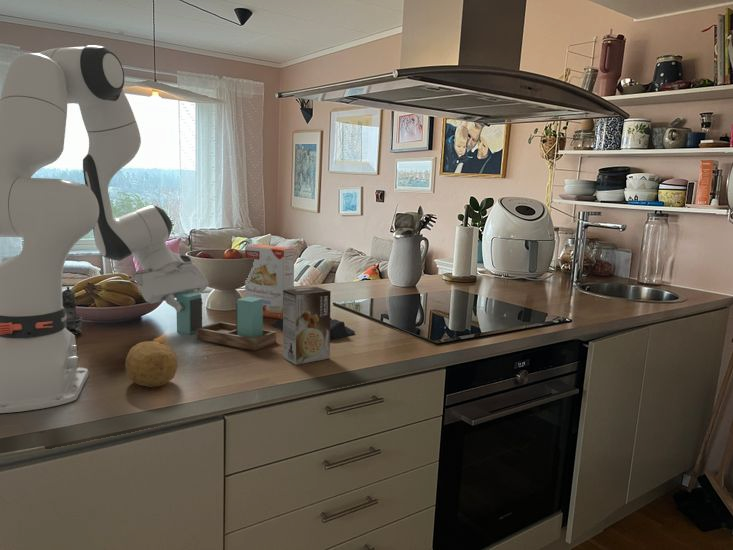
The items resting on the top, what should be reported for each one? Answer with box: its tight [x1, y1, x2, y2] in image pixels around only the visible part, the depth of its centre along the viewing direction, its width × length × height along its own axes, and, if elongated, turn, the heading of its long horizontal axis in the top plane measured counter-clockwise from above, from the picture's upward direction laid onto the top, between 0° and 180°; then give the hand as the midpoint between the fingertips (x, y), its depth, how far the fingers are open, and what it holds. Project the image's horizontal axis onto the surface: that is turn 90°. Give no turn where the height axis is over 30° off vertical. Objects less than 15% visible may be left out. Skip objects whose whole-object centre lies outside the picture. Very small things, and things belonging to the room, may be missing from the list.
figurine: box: [62, 286, 83, 335], centre depth 140 cm, size 6×6×12 cm
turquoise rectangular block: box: [235, 296, 264, 338], centre depth 137 cm, size 5×4×10 cm
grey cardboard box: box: [282, 286, 332, 366], centre depth 126 cm, size 9×6×16 cm
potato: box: [124, 340, 178, 388], centre depth 108 cm, size 10×14×8 cm
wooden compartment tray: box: [196, 321, 277, 352], centre depth 139 cm, size 18×9×3 cm, turn 64°
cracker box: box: [244, 243, 295, 320], centre depth 165 cm, size 14×6×21 cm, turn 64°
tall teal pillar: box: [175, 292, 203, 336], centre depth 145 cm, size 5×4×10 cm
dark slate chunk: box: [271, 317, 356, 341], centre depth 151 cm, size 15×22×5 cm
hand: (190, 307), depth 145 cm, fingers open, 5 cm apart
